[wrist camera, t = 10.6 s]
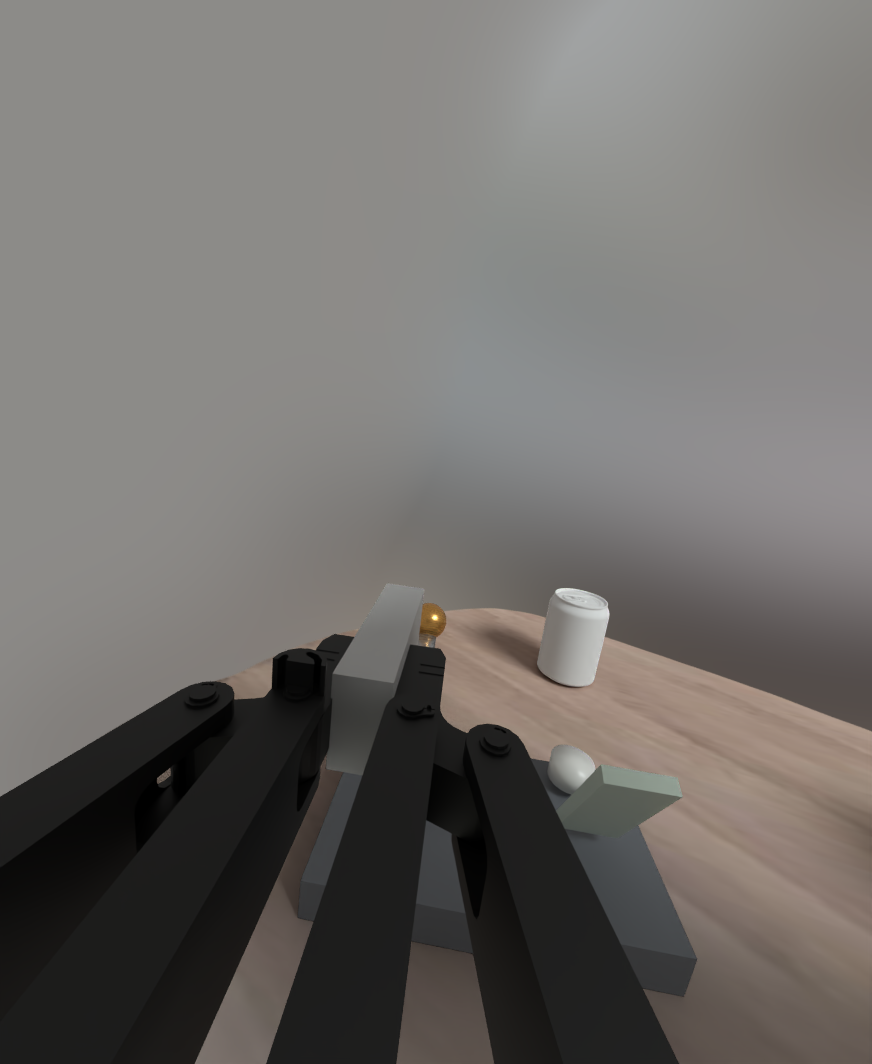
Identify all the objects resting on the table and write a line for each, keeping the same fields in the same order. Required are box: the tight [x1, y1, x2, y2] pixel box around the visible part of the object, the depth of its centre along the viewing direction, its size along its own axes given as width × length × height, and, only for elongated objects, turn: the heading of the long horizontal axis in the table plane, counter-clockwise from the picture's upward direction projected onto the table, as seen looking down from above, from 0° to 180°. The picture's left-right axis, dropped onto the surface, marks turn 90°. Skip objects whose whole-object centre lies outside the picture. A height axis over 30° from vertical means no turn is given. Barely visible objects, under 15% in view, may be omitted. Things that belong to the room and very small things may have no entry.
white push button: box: [547, 745, 595, 795], centre depth 35 cm, size 4×4×2 cm
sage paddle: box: [556, 764, 682, 838], centre depth 27 cm, size 4×1×10 cm, turn 85°
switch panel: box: [298, 759, 697, 996], centre depth 32 cm, size 24×14×3 cm, turn 85°
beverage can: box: [537, 588, 609, 687], centre depth 59 cm, size 8×8×12 cm
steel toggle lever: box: [418, 603, 446, 648], centre depth 35 cm, size 3×3×14 cm
